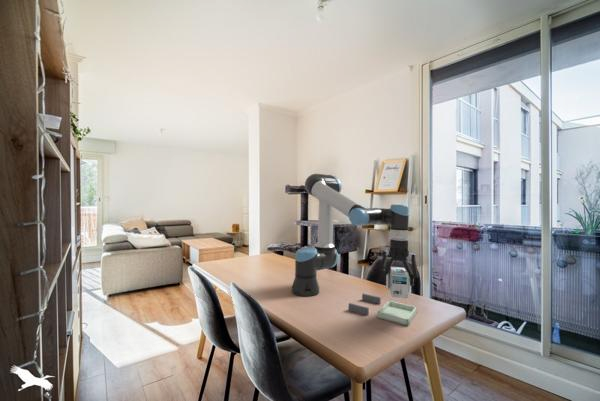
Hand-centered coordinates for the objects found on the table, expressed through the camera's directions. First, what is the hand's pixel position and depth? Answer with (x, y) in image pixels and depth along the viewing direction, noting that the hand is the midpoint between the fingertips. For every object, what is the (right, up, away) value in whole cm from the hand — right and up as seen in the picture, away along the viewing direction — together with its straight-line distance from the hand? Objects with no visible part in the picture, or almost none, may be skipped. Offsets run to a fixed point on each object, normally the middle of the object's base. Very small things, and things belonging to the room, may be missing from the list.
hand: (398, 290), depth 118 cm
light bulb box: (0, -2, 0) cm, 2 cm away
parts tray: (0, -11, 0) cm, 11 cm away
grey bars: (-13, -10, +9) cm, 19 cm away
